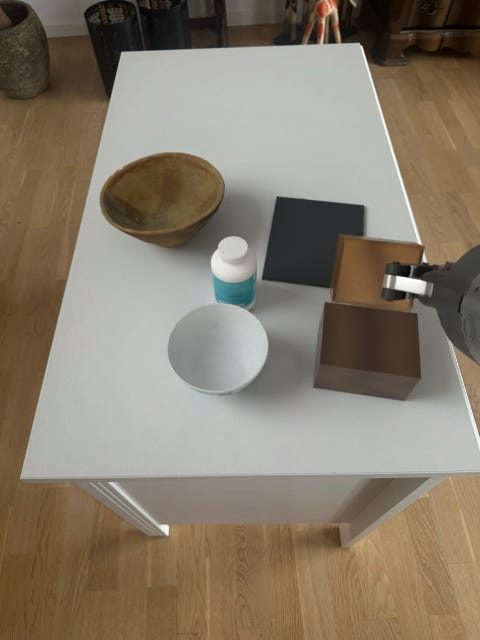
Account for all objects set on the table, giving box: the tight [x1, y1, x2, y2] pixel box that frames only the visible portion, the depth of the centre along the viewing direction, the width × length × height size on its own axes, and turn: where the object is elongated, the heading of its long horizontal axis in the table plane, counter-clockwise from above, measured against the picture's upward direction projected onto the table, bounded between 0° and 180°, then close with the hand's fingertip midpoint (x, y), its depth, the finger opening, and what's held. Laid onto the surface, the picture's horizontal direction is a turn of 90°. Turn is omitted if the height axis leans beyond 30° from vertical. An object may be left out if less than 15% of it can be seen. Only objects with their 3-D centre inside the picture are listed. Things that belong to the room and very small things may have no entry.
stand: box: [312, 301, 422, 402], centre depth 68 cm, size 14×11×8 cm
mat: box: [261, 195, 365, 289], centre depth 86 cm, size 18×22×1 cm
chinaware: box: [166, 302, 270, 397], centre depth 68 cm, size 15×15×8 cm
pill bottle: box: [210, 235, 258, 311], centre depth 73 cm, size 8×7×14 cm
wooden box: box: [328, 234, 426, 313], centre depth 70 cm, size 12×10×7 cm
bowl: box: [99, 151, 226, 248], centre depth 84 cm, size 22×23×10 cm
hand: (437, 277), depth 38 cm, fingers closed
